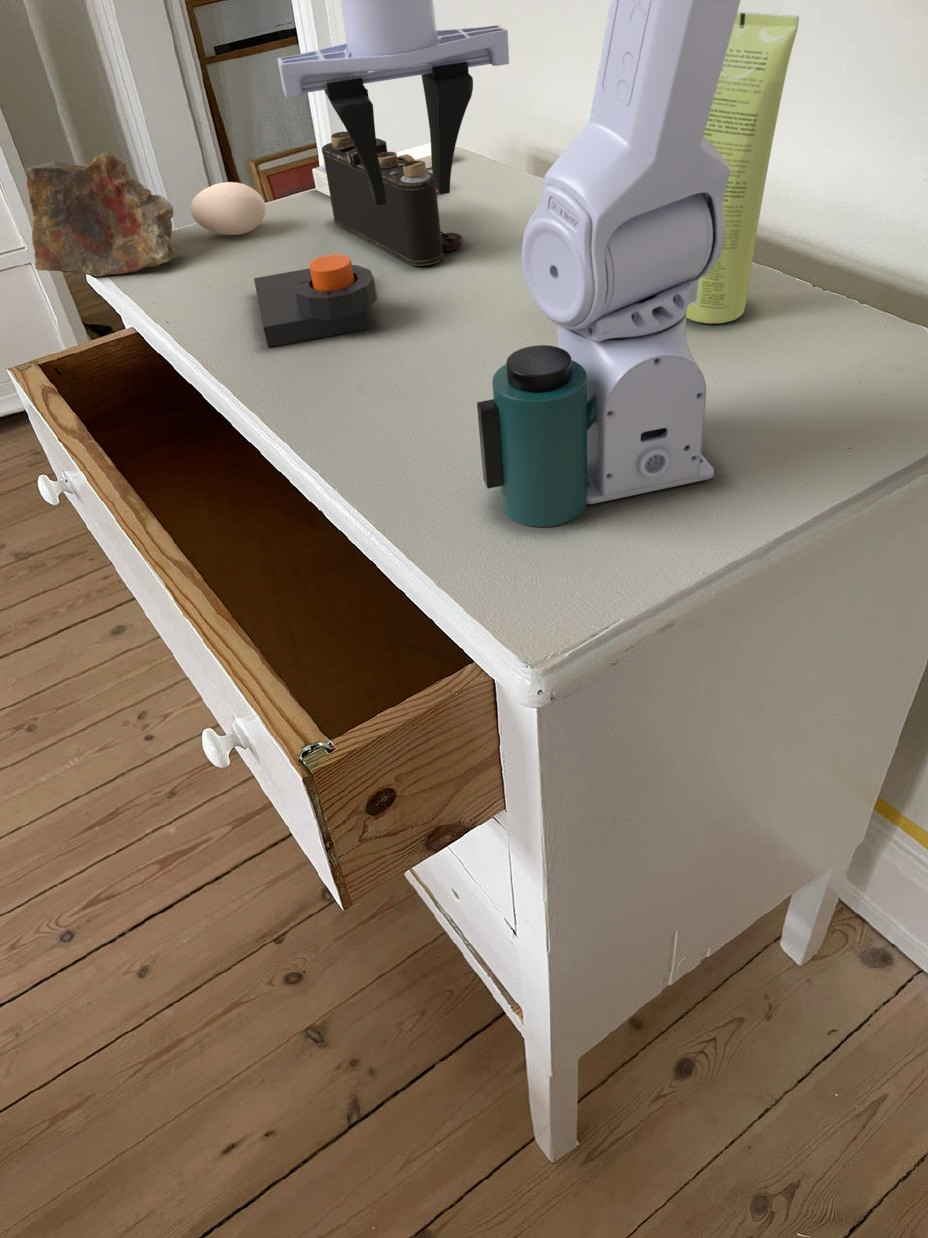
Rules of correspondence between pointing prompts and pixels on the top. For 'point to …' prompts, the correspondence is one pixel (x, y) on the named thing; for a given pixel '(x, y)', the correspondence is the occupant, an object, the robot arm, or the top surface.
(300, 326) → the push button switch
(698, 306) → the tube
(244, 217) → the egg
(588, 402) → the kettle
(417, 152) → the eraser
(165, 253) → the rock
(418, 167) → the camera
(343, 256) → the switch button
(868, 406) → the top surface
